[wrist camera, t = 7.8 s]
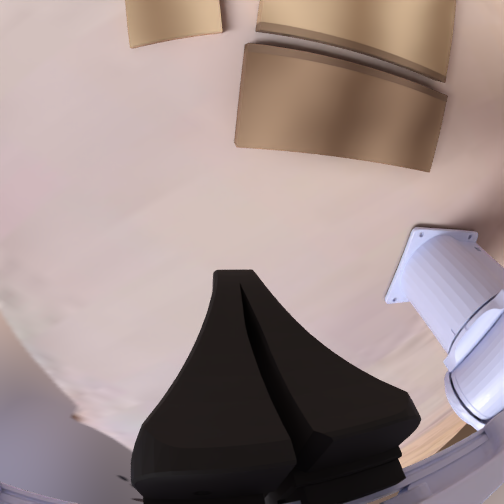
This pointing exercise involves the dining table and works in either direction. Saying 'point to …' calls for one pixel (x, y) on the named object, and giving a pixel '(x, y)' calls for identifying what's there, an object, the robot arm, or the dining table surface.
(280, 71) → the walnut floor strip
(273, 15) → the oak plank
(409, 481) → the robot arm
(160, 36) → the plank
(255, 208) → the dining table surface
